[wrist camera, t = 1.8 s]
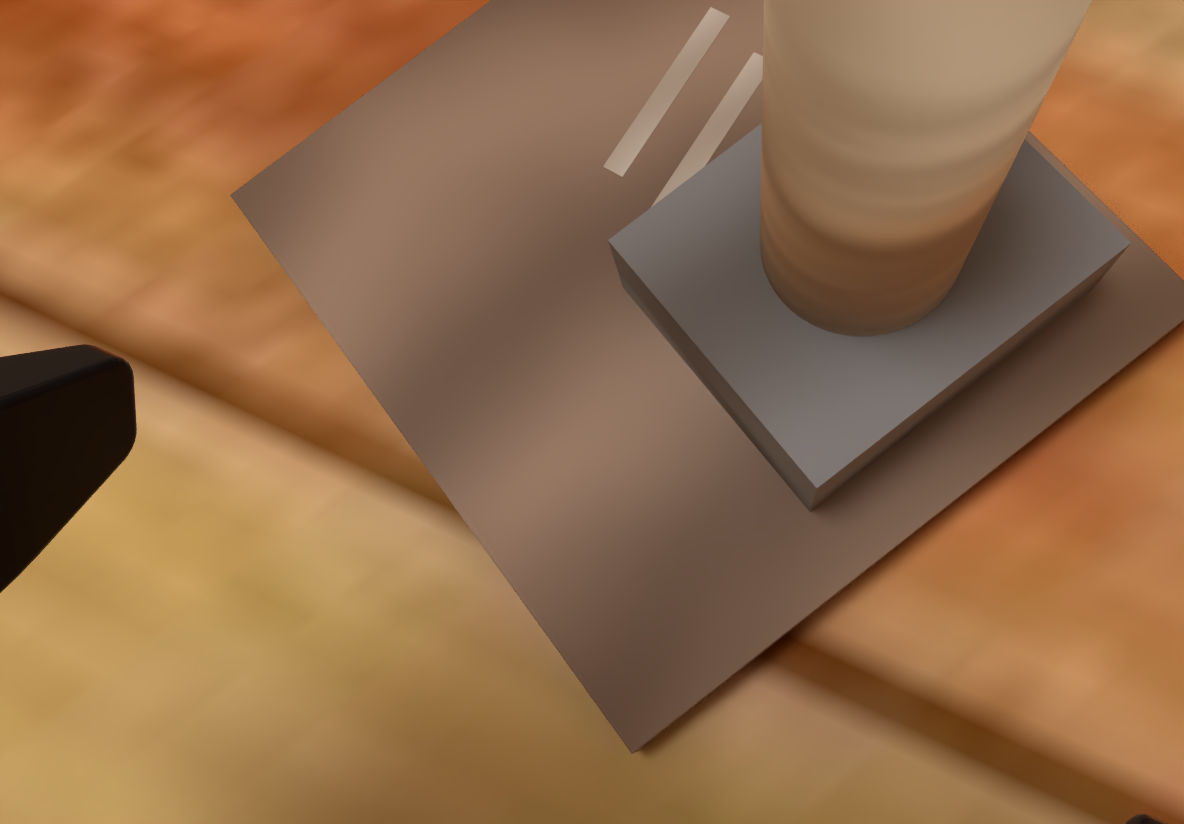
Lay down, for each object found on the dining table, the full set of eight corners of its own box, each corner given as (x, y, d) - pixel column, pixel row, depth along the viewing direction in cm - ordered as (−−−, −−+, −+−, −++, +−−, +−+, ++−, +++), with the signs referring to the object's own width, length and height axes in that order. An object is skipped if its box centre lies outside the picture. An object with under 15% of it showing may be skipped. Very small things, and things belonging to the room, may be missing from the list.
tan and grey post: (1089, 292, 22) (1406, -88, 11) (809, 511, 21) (865, 332, 11) (885, 87, 23) (993, -413, 13) (623, 287, 23) (513, -56, 13)
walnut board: (1182, 322, 23) (1205, 301, 21) (638, 750, 22) (631, 753, 21) (720, -133, 27) (718, -170, 26) (253, 217, 26) (229, 194, 25)
